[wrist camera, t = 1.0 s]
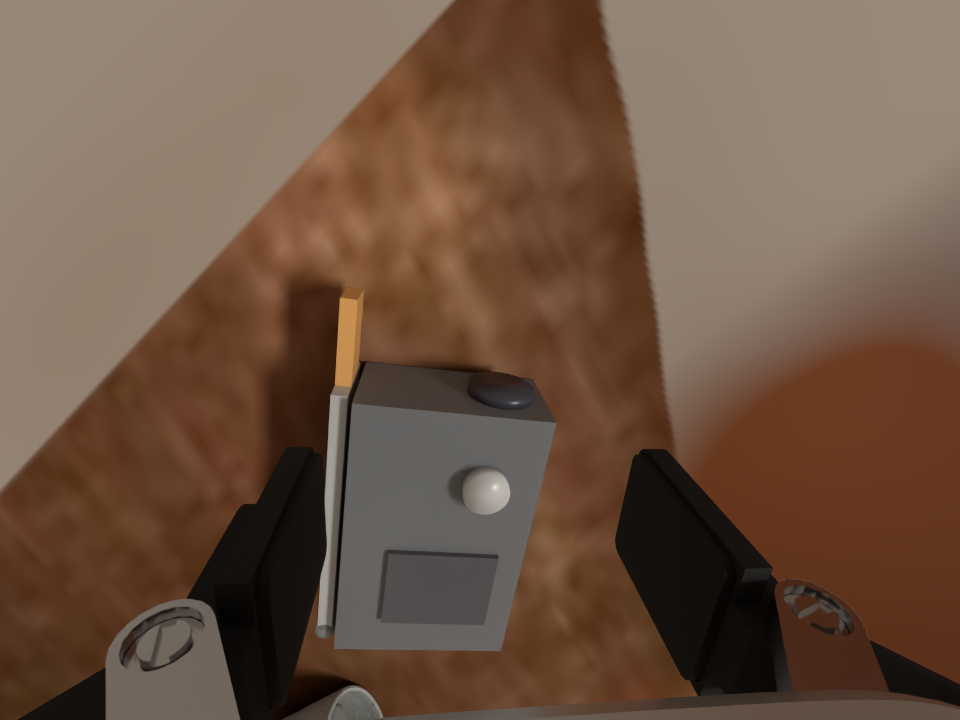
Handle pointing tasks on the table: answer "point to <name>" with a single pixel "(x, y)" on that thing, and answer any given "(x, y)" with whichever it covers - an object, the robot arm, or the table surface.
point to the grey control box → (437, 506)
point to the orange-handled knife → (339, 452)
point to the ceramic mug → (341, 706)
